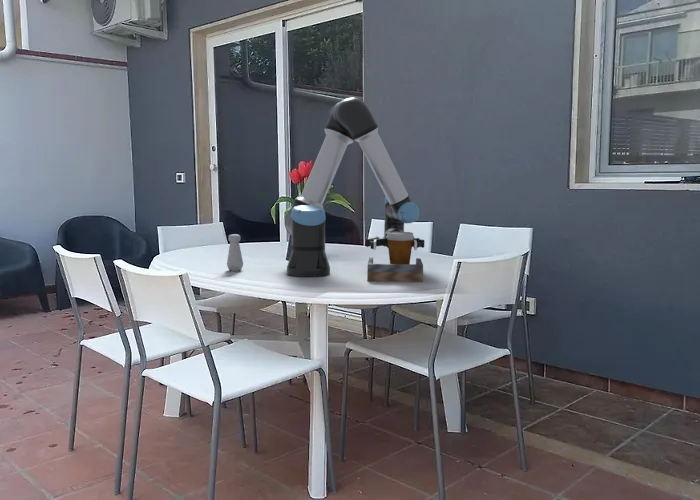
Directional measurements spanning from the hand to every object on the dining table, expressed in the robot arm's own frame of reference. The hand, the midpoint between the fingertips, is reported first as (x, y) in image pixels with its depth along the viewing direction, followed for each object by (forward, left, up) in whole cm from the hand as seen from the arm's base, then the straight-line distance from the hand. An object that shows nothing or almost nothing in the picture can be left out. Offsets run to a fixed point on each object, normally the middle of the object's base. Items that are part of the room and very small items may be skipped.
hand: (395, 245), depth 199 cm
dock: (0, +2, -11) cm, 11 cm away
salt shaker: (-57, +12, -11) cm, 59 cm away
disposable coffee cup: (+2, +4, -8) cm, 9 cm away
